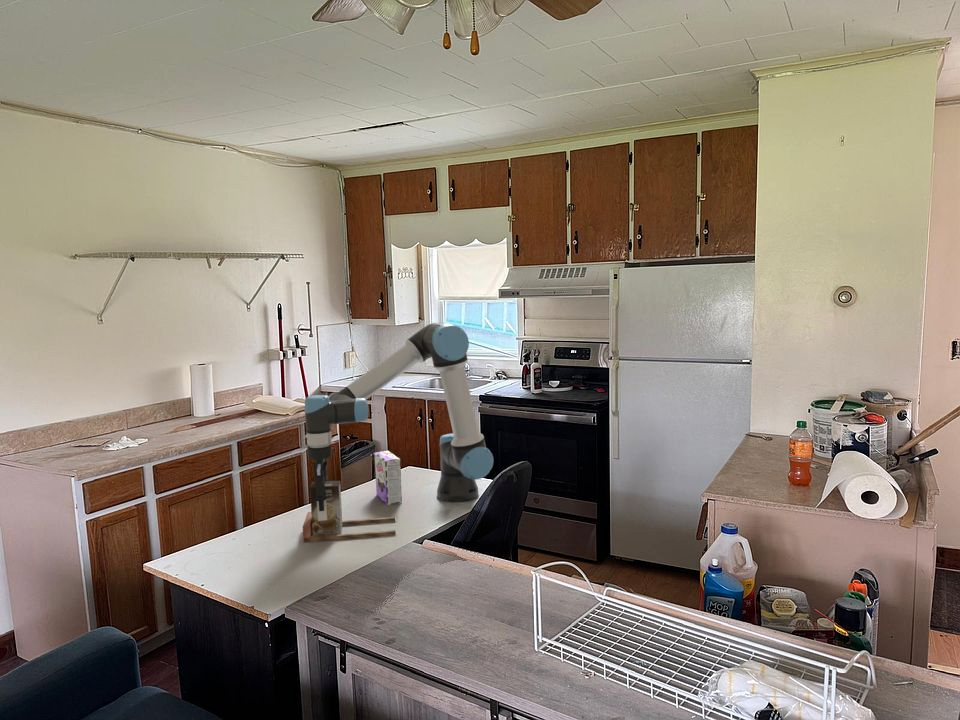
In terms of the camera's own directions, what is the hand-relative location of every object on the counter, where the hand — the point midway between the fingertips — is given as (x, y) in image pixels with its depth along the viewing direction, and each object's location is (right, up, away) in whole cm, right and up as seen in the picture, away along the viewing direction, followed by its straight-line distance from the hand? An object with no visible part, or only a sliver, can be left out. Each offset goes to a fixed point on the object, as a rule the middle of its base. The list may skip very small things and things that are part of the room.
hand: (323, 516), depth 213 cm
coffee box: (+1, -6, +1) cm, 6 cm away
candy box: (+16, -2, +33) cm, 37 cm away
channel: (+8, -5, +2) cm, 10 cm away
